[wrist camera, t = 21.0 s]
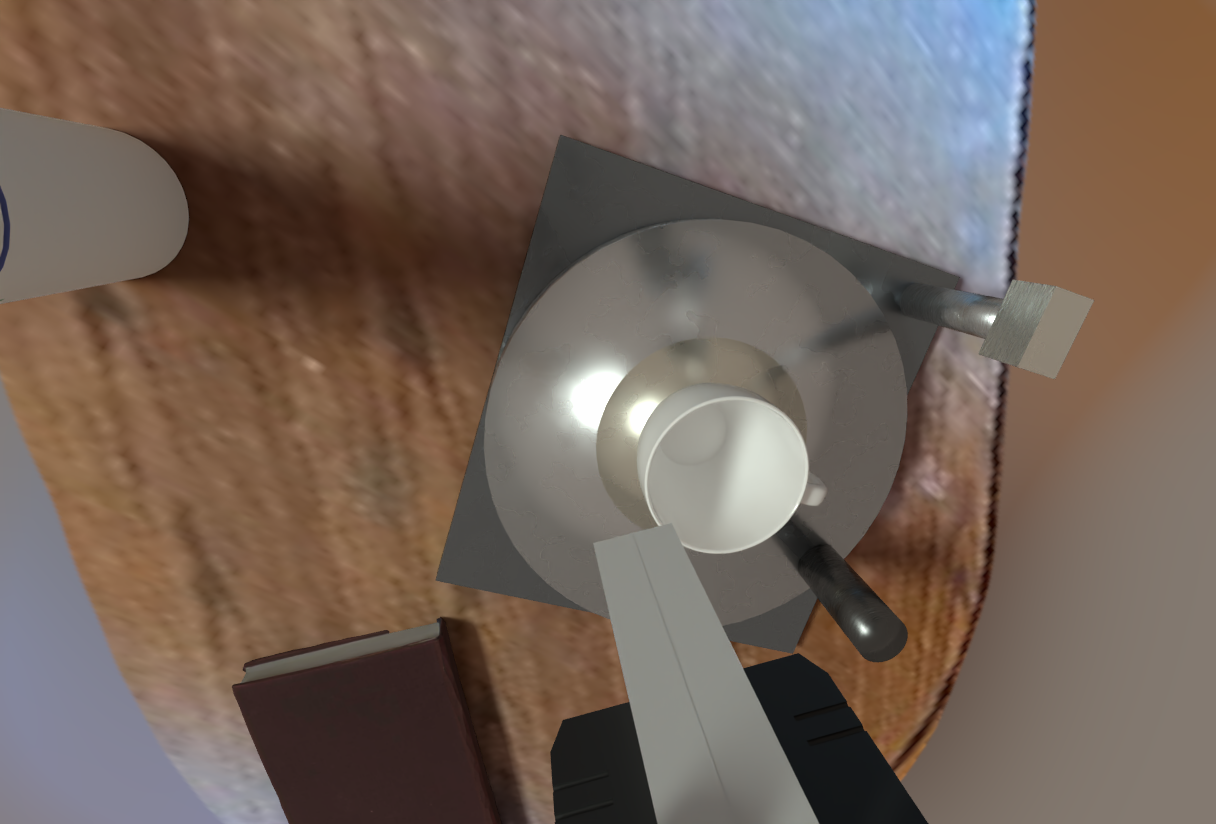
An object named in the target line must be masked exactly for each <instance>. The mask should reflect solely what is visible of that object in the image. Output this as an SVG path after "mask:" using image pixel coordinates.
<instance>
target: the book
mask: <svg viewBox="0 0 1216 824" xmlns="http://www.w3.org/2000/svg"><path fill="white" fill-rule="evenodd" d="M243 671H245V672H246V674H245V677H244V678H243V680H242V682H241V683H239V684H234V685H233V686H232V688H233V693H234V696H235V698H236V700H237V702H238V704H239V707H240V709H241V712H242V715H243V717H244V720H245V722H246V725H247V727H248V730H249V732H250V735H251V737H252V739H253V742H254V744H255V746H256V749H257V751H258V754H259V756H260V758H261V761H262V763H263V765H264V768H265V770H266V772H267V774H268V776H269V778H270V781H271V783H272V785H273V787H274V789H275V791H276V793H277V795H278V797H279V800H280V803H281V806H282V809H283V811H284V813H285V816H286V818H287V820H288V823H289V824H502V823H501V820H500V817H499V813H498V810H497V807H496V803H495V799H494V796H493V792H492V789H491V786H490V784H489V781H488V777H487V774H486V770H485V766H484V763H483V760H482V756H481V753H480V749H479V745H478V742H477V738H476V735H475V731H474V728H473V724H472V721H471V717H470V713H469V710H468V707H467V703H466V700H465V696H464V693H463V689H462V686H461V682H460V679H459V674H458V670H457V666H456V663H455V660H454V656H453V652H452V648H451V643H450V639H449V635H448V631H447V627H446V623H445V621H444V620H443V619H442V618H441V617H440V618H438V619H437V623H434V624H429V625H425V626H420V627H416V628H412V629H407V630H403V631H398V632H394V633H390V634H389V631H388V630H384V631H380V632H376V633H371V634H367V635H362V636H356V637H351V638H346V639H343V640H338V641H333V642H328V643H323V644H320V645H316V646H312V647H308V648H302V649H297V650H292V651H289V652H284V653H279V654H275V655H272V656H268V657H264V658H259V659H256V660H252V661H250V662H247V663H245V664H244V667H243Z"/></svg>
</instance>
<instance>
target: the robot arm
mask: <svg viewBox="0 0 1216 824" xmlns="http://www.w3.org/2000/svg"><path fill="white" fill-rule="evenodd" d="M593 544H594V549H595V553H596V558H597V562H598V566H599V571H600V575H601V579H602V584H603V588H604V592H605V597H606V601H607V605H608V610H609V614H610V619H611V623H612V627H613V632H614V636H615V640H616V645H617V649H618V653H619V658H620V662H621V666H622V671H623V675H624V680H625V684H626V688H627V693H628V697H629V701H630V702H628V703H624V704H620V705H617V706H613V707H609V708H606V709H602V710H598V711H595V712H591V713H587V714H584V715H580V716H576V717H573V718H569V719H565V720H563V721H562V724H561V726H560V729H559V732H558V734H557V737H556V739H555V742H554V744H553V747H552V750H551V752H550V753H551V769H552V784H553V790H554V792H553V800H554V815H555V820H556V822H555V824H928V823H927V821H926V820H925V818H924V817H923V815H922V814H921V812H920V811H919V809H918V808H917V806H916V805H915V803H914V802H913V800H912V799H911V797H910V796H909V794H908V793H907V791H906V790H905V788H904V787H903V785H902V784H901V782H900V781H899V779H898V778H897V776H896V775H895V773H894V772H893V770H892V769H891V767H890V766H889V764H888V763H887V761H886V760H885V758H884V757H883V755H882V754H881V752H880V751H879V749H878V748H877V746H876V745H875V743H874V742H873V740H872V739H871V737H870V736H869V734H868V733H867V731H864V729H863V726H862V724H861V722H860V721H859V719H858V718H857V716H856V715H855V713H854V712H853V710H852V709H851V707H848V705H847V701H846V700H845V698H844V697H843V695H842V694H841V692H840V691H839V689H838V688H837V686H836V685H835V683H834V682H833V680H832V679H831V677H830V676H829V674H828V673H827V672H825V671H824V670H822V669H821V668H819V667H818V666H817V665H815V664H814V663H812V662H811V661H809V660H808V659H806V658H805V657H803V656H802V655H800V654H799V653H798V654H794V655H791V656H787V657H783V658H780V659H776V660H772V661H769V662H765V663H761V664H758V665H754V666H750V667H747V668H742V666H741V663H740V661H739V659H738V657H737V655H736V653H735V651H734V649H733V647H732V645H731V643H730V641H729V639H728V637H727V635H726V633H725V631H724V629H723V627H722V625H721V623H720V621H719V619H718V617H717V615H716V613H715V611H714V608H713V606H712V604H711V602H710V600H709V598H708V596H707V594H706V592H705V590H704V588H703V586H702V584H701V582H700V580H699V578H698V576H697V574H696V572H695V570H694V568H693V566H692V564H691V562H690V560H689V558H688V555H687V553H686V551H685V549H684V547H683V545H682V543H681V541H680V539H679V537H678V535H677V533H676V531H675V529H674V527H673V525H672V523H669V524H665V525H661V526H658V527H654V528H650V529H646V530H642V531H638V532H634V533H630V534H627V535H623V536H619V537H615V538H611V539H607V540H603V541H599V542H596V543H593Z"/></svg>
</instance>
